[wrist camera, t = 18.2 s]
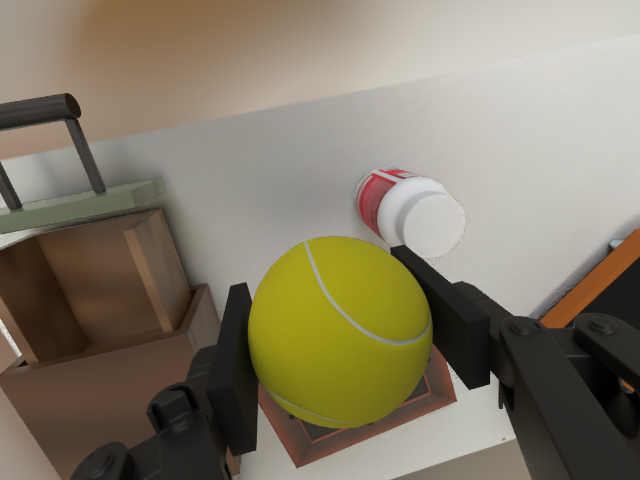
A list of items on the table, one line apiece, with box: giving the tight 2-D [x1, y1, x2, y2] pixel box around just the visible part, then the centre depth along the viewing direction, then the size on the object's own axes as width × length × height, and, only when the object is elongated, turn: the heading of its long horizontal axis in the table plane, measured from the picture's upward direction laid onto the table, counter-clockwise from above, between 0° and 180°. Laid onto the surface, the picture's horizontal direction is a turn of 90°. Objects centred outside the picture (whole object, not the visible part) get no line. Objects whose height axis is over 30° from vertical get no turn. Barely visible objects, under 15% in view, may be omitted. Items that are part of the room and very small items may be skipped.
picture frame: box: [258, 343, 457, 468], centre depth 38 cm, size 16×2×22 cm
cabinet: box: [0, 284, 241, 480], centre depth 31 cm, size 16×14×9 cm
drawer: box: [0, 93, 193, 365], centre depth 25 cm, size 21×13×7 cm, turn 10°
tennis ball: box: [248, 236, 433, 428], centre depth 13 cm, size 7×7×7 cm
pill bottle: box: [354, 167, 466, 259], centre depth 27 cm, size 6×6×11 cm
